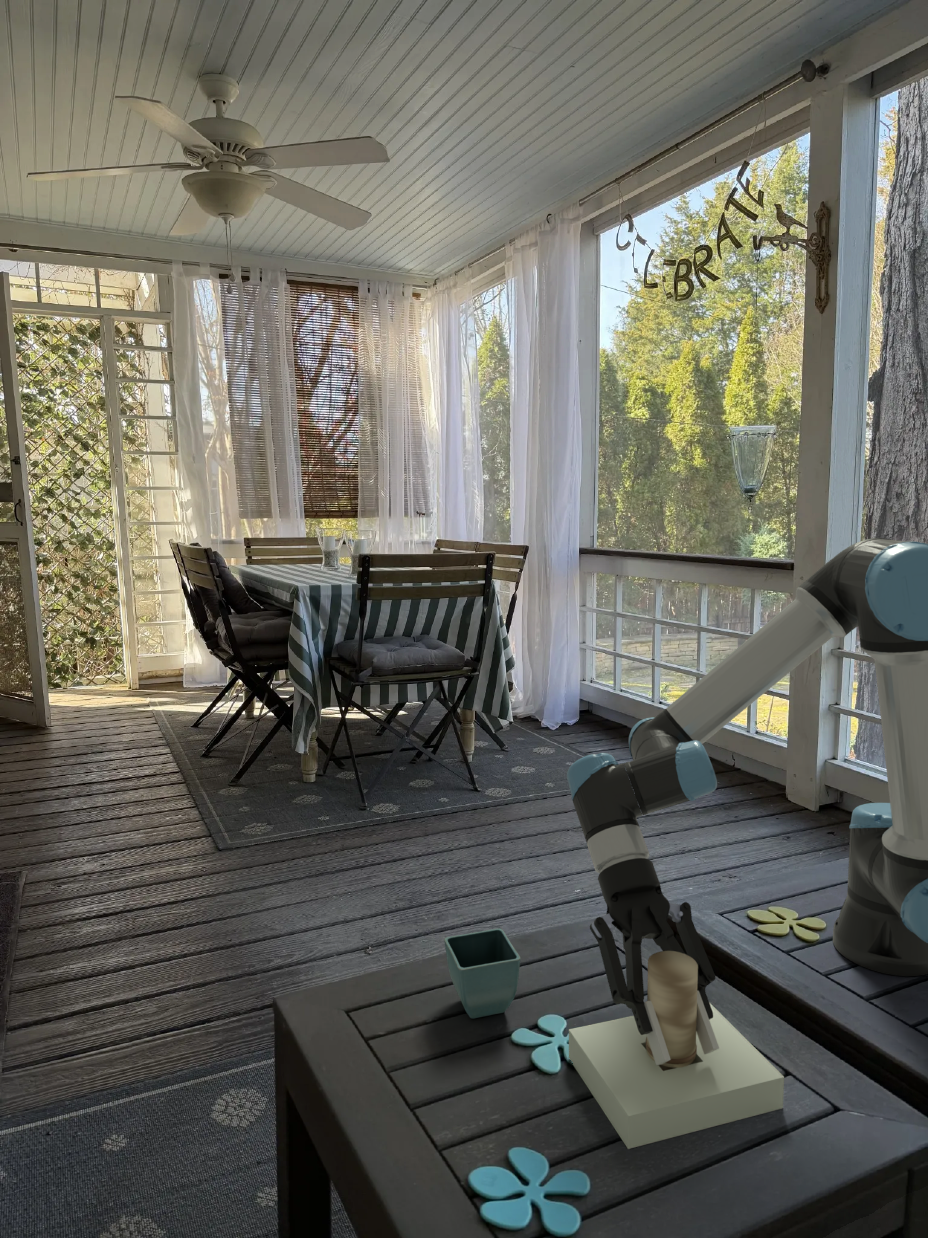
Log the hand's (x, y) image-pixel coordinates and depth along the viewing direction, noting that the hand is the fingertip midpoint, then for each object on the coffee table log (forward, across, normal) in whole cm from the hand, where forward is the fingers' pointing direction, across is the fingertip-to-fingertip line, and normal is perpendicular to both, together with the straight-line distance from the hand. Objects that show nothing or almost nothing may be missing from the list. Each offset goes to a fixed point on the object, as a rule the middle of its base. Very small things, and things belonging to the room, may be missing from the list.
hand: (687, 1056), depth 100 cm
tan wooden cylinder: (+1, 0, -6) cm, 7 cm away
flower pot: (-14, +17, -22) cm, 31 cm away
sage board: (+2, 0, -7) cm, 7 cm away
